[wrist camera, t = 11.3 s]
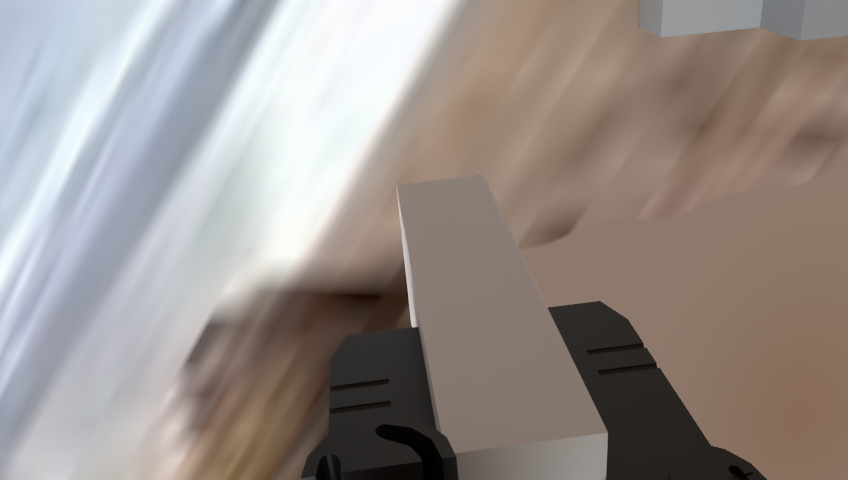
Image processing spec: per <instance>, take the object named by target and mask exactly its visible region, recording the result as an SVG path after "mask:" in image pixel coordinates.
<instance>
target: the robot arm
mask: <svg viewBox="0 0 848 480" xmlns="http://www.w3.org/2000/svg"><path fill="white" fill-rule="evenodd" d="M396 187H397V196H398V205H399V214H400V224H401V233H402V242H403V252H404V261H405V270H406V279H407V289H408V298H409V307H410V317H411V324H412V328H404V329H396V330H388V331H380V332H372V333H364V334H356V335H348V336H346V337H345V338H344V340H343V341H342V343H341V344H340V346H339V347H338V349H337V351H336V352H335V354H334V355H333V357H332V358H331V360H330V392H329V412H330V414H329V433H328V436H326V437H325V438H324V439H323V440H322V441H321V442H320V443H319V444H318V445H317V447H316V448H315V449H314V450H313V451H312V452H311V453H310V454H309V456H308V458H307V461H306V464H305V467H304V470H303V473H302V476H301V480H767V479H766V478H765V477H764V476H763V475H761V473H760V472H759V471H758V470H757V469H756V468H755V467H754V466H753V465H752V464H751V463H749V462H747V461H745V460H744V459H742V458H740V457H738V456H736V455H734V454H733V453H731V452H729V451H727V450H725V449H721V448H718V447H713V446H711V445H710V444H709V442H708V441H707V439H706V438H705V436H704V434H703V433H702V431H701V430H700V428H699V427H698V425H697V424H696V422H695V421H694V419H693V418H692V416H691V415H690V413H689V412H688V410H687V409H686V407H685V406H684V404H683V403H682V401H681V399H680V398H679V397H678V395H677V393H676V392H675V390H674V389H673V387H672V386H671V384H670V383H669V381H668V380H667V378H666V377H665V375H664V374H663V372H662V371H661V369H660V368H657V365H656V362H655V360H654V358H653V357H652V355H651V354H650V353H649V351H648V349H647V348H644V345H643V342H642V340H641V339H640V337H639V336H638V334H637V333H636V331H635V330H634V328H633V327H632V325H631V323H630V322H629V320H628V319H626V318H625V317H623V316H622V315H620V314H619V313H617V312H616V311H614V310H612V309H611V308H610V307H608V306H607V305H605V304H604V303H602V302H600V301H597V302H589V303H581V304H573V305H566V306H557V307H549V308H547V306H546V304H545V302H544V300H543V298H542V296H541V294H540V291H539V290H538V287H537V285H536V283H535V281H534V279H533V277H532V275H531V273H530V271H529V269H528V267H527V265H526V263H525V261H524V258H523V257H522V254H521V252H520V250H519V248H518V246H517V244H516V242H515V240H514V238H513V236H512V234H511V232H510V230H509V228H508V226H507V223H506V221H505V219H504V217H503V215H502V213H501V211H500V209H499V207H498V205H497V203H496V201H495V199H494V197H493V195H492V193H491V191H490V188H489V186H488V184H487V182H486V180H485V178H484V176H483V175H477V176H468V177H459V178H451V179H442V180H433V181H425V182H416V183H407V184H399V185H396Z"/></svg>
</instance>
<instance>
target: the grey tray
mask: <svg viewBox="0 0 848 480" xmlns="http://www.w3.org/2000/svg"><path fill="white" fill-rule="evenodd" d="M638 27H640V28H642V29H644V30H646V31H648V32H650V33H652V34H654V35H656V36H658V37H660V38H663V37H672V36H681V35H691V34H700V33H709V32H719V31H728V30H737V29H747V28H756V27H761V28H764V29H767V30H770V31H773V32H776V33H779V34H781V35H784V36H787V37H790V38H793V39H796V40H799V41H803V40H812V39H821V38H831V37H840V36H848V0H640V4H639V25H638Z"/></svg>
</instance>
